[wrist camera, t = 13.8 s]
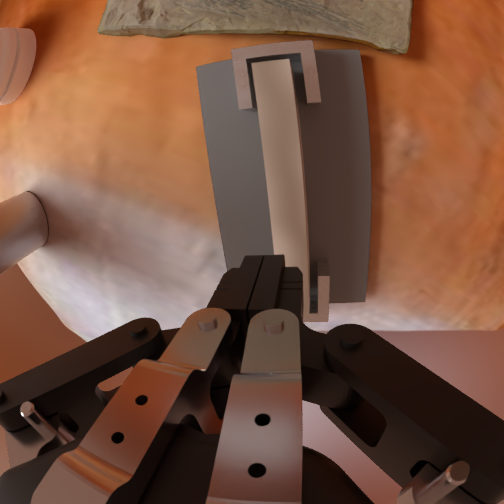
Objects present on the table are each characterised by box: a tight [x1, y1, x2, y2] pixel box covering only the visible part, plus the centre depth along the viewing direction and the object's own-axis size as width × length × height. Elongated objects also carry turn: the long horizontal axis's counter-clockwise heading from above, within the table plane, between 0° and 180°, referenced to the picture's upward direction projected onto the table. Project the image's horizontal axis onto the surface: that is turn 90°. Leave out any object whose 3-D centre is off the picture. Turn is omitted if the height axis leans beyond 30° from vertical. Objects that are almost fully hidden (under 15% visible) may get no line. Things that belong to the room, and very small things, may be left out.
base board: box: [196, 49, 371, 303], centre depth 24 cm, size 14×24×2 cm, turn 7°
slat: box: [251, 59, 310, 318], centre depth 22 cm, size 2×20×5 cm, turn 7°
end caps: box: [231, 40, 330, 322], centre depth 22 cm, size 6×24×3 cm, turn 7°
